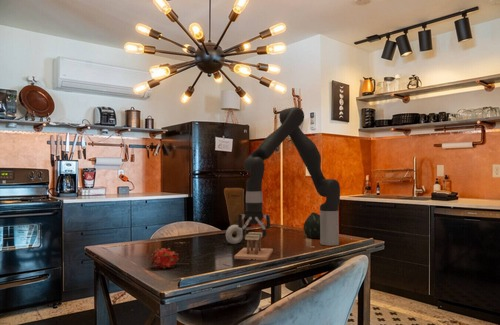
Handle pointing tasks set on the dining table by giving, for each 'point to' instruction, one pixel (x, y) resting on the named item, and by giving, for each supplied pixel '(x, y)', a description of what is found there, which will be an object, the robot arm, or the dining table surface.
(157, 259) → the dragon fruit
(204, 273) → the dining table surface
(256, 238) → the stool
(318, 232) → the squash
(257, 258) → the mat
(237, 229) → the donut
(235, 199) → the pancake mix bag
